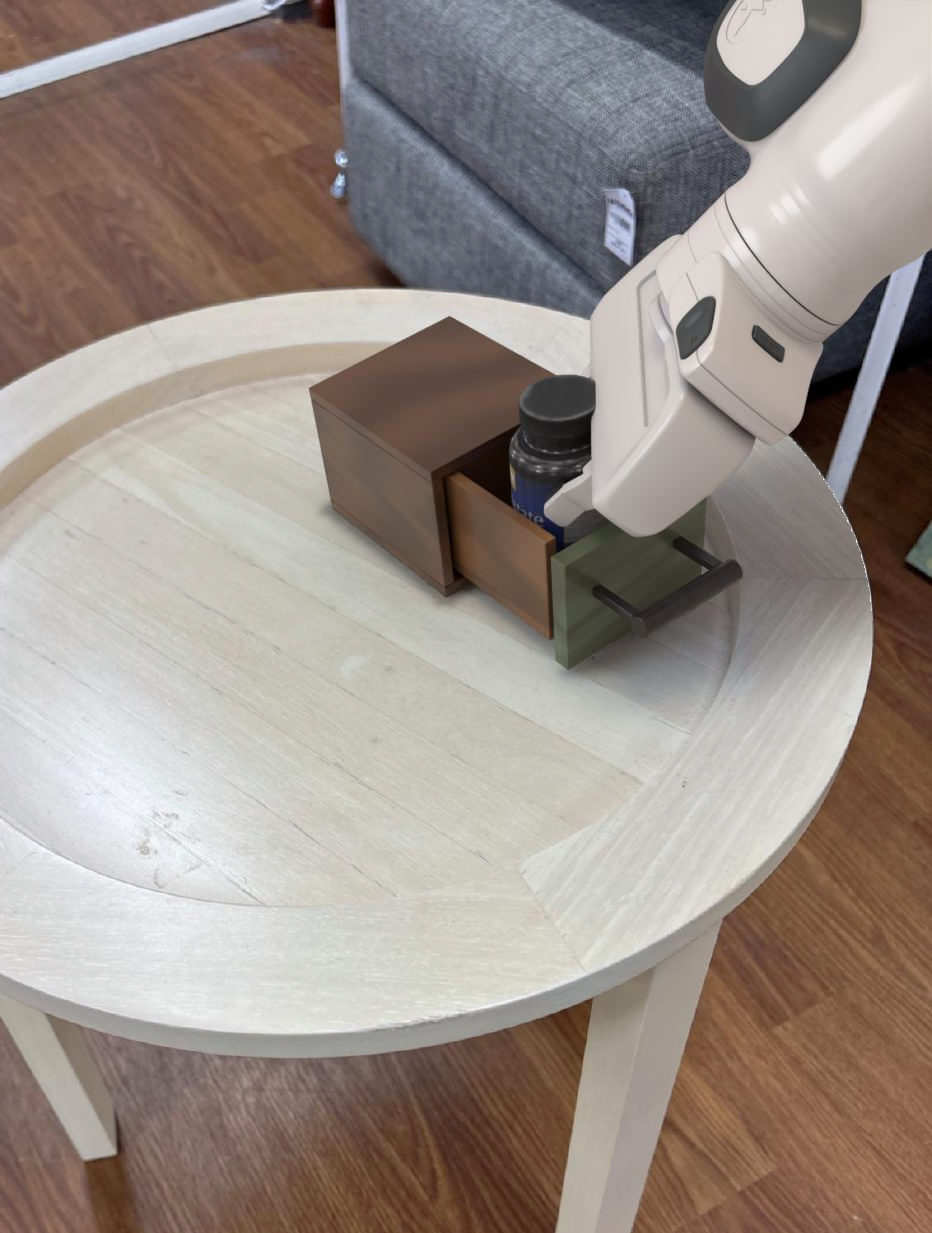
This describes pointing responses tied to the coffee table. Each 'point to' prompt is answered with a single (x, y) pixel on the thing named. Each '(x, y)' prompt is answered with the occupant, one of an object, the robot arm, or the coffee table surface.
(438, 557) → the cabinet
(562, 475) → the pill bottle
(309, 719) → the coffee table surface
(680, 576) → the drawer
